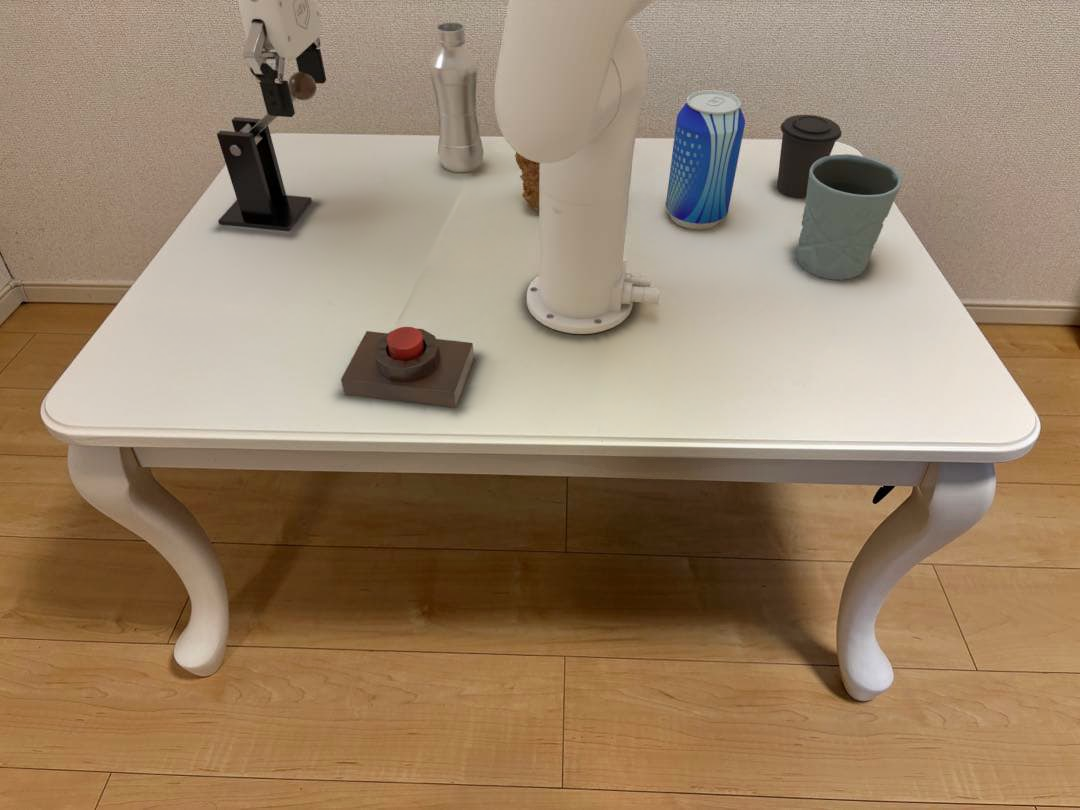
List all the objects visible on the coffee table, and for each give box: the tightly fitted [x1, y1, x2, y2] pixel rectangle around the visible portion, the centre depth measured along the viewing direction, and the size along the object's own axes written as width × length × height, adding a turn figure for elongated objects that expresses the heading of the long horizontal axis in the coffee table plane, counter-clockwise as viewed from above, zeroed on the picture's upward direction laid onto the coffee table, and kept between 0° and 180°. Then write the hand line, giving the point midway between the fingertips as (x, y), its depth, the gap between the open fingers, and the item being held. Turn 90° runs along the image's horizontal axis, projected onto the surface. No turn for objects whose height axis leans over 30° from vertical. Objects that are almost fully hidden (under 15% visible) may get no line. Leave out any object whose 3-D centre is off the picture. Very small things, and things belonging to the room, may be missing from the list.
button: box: [387, 326, 424, 361], centre depth 79 cm, size 4×4×2 cm
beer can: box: [665, 89, 746, 230], centre depth 99 cm, size 8×8×16 cm
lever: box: [239, 71, 317, 145], centre depth 94 cm, size 15×3×3 cm
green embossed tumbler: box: [796, 153, 903, 281], centre depth 93 cm, size 10×10×12 cm
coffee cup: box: [776, 114, 842, 199], centre depth 106 cm, size 8×8×10 cm
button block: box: [340, 327, 475, 409], centre depth 80 cm, size 12×8×4 cm, turn 80°
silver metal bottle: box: [428, 22, 484, 174], centre depth 108 cm, size 6×7×20 cm
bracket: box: [216, 116, 313, 232], centre depth 101 cm, size 10×8×13 cm
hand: (298, 98), depth 92 cm, fingers open, 9 cm apart
